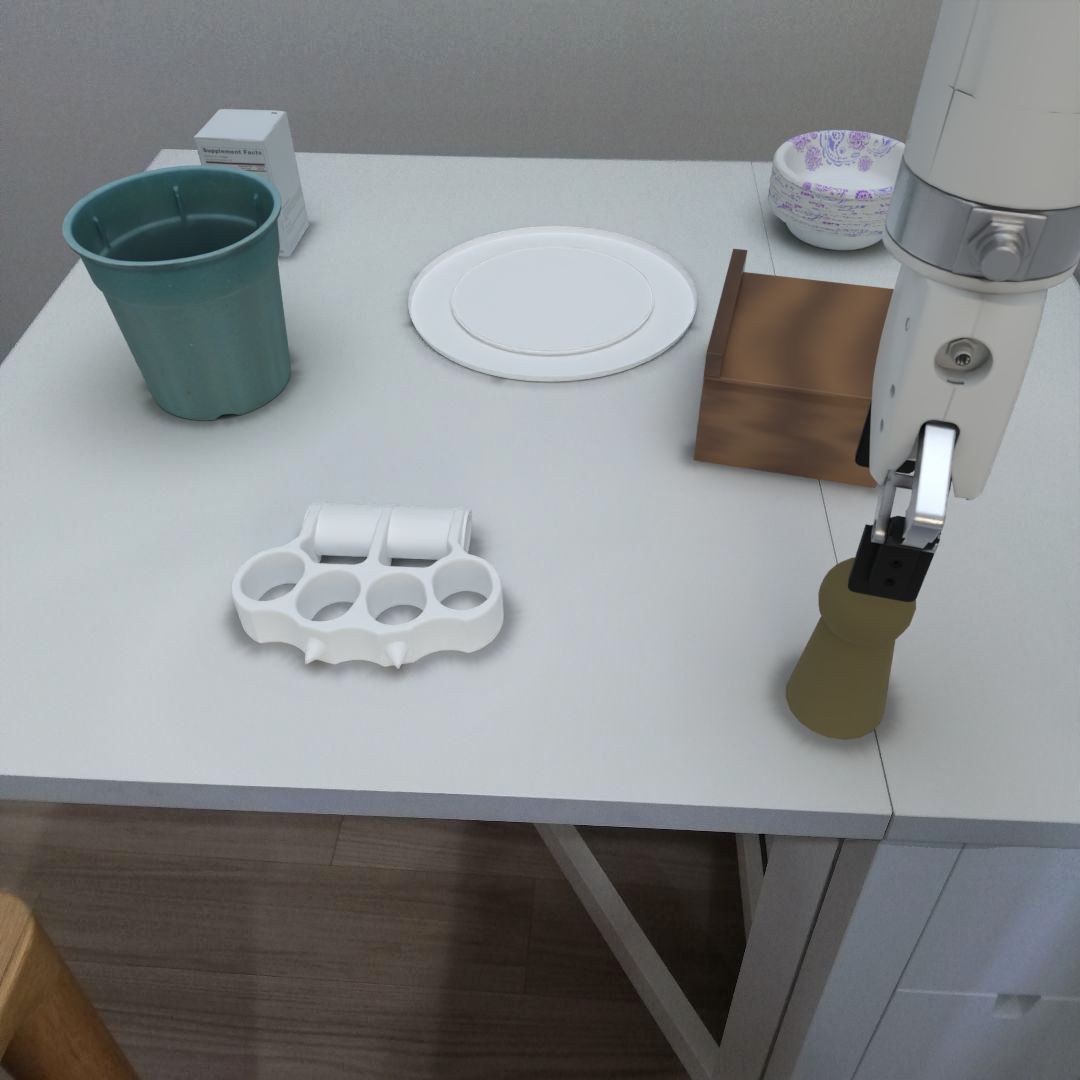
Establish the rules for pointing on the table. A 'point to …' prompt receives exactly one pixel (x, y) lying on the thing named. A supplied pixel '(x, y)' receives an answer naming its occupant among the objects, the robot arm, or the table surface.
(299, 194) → the white packaging box
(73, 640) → the table surface
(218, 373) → the flower pot
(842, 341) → the brown wooden box
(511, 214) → the table surface
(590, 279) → the plate
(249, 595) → the knuckle duster
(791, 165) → the paper bowls
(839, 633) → the olive pawn figure
